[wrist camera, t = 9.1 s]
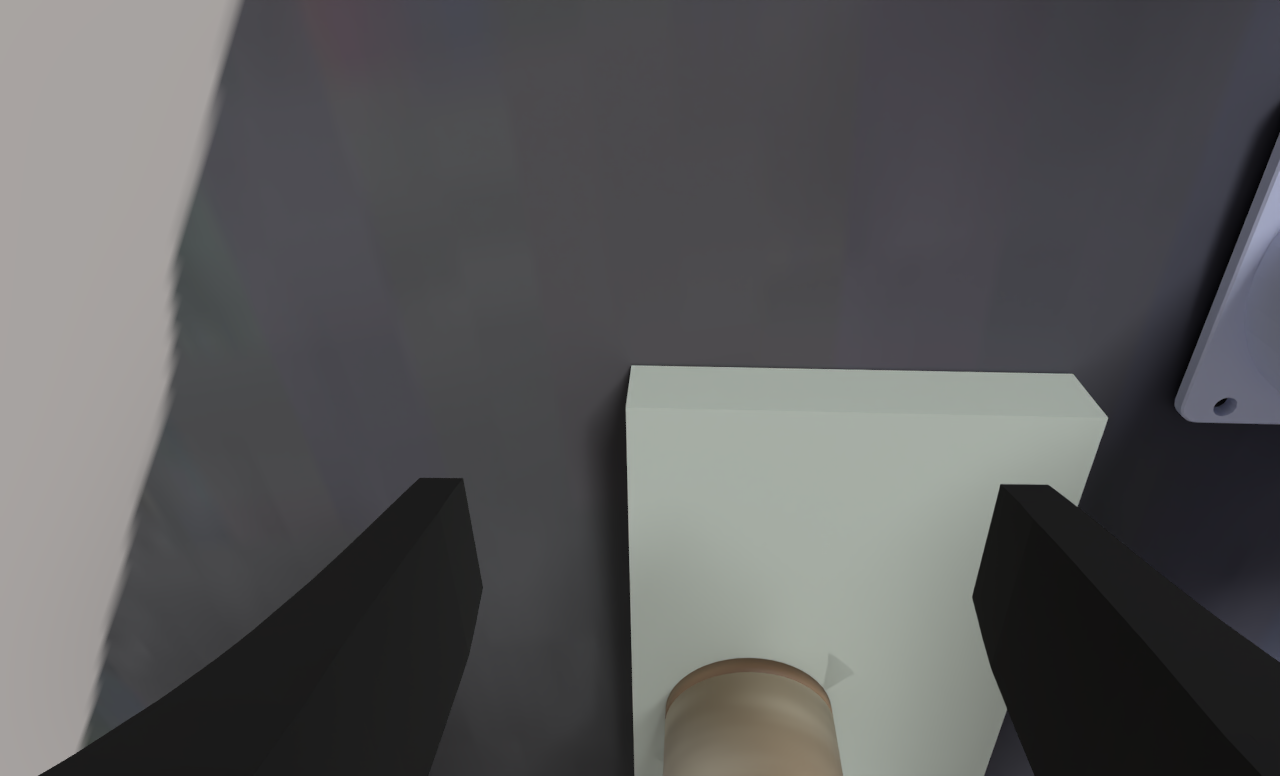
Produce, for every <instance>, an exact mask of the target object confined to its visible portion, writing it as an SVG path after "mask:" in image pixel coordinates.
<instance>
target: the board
mask: <svg viewBox="0 0 1280 776" xmlns="http://www.w3.org/2000/svg"><path fill="white" fill-rule="evenodd" d="M1107 420H1108V417H1107V416H1106V414H1105V413H1104V412H1103V411H1102V410H1101V408H1100V407H1099V406H1098V405H1097V403H1096V402H1095V401H1094V400H1093V398H1092V397H1091V396H1090V395H1089V393H1088V392H1087V391H1086V390H1085V388H1084V387H1083V386H1082V385H1081V383H1080V382H1079V381H1078V380H1077V379H1076V377H1075V376H1074V375H1073V374H1050V373H998V372H946V371H894V370H842V369H790V368H738V367H685V366H633V365H631V372H630V380H629V387H628V394H627V402H626V440H627V482H628V524H629V566H630V608H631V650H632V692H633V734H634V776H663V765H664V738H665V710H666V703H667V699H668V697H669V695H670V692H671V691H672V690H673V688H674V687H675V685H676V684H677V683H678V682H679V681H680V680H681V679H683V678H684V677H685V676H686V675H688V674H689V673H691V672H693V671H694V670H696V669H698V668H701V667H703V666H705V665H708V664H711V663H714V662H718V661H723V660H728V659H735V658H761V659H768V660H774V661H778V662H782V663H785V664H788V665H791V666H793V667H795V668H798V669H800V670H802V671H803V672H805V673H807V674H808V675H810V676H811V677H812V678H814V679H815V680H816V681H817V682H818V683H819V684H820V685H821V686H822V687H823V689H824V690H825V692H826V693H827V695H828V697H829V700H830V703H831V707H832V713H833V719H834V725H835V731H836V736H837V742H838V748H839V754H840V760H841V766H842V772H843V776H984V774H985V772H986V769H987V766H988V763H989V760H990V757H991V754H992V751H993V749H994V746H995V743H996V740H997V737H998V734H999V731H1000V728H1001V725H1002V723H1003V720H1004V717H1005V714H1006V711H1007V707H1006V705H1005V702H1004V700H1003V697H1002V695H1001V693H1000V690H999V688H998V685H997V683H996V680H995V677H994V675H993V672H992V670H991V667H990V663H989V660H988V656H987V653H986V649H985V646H984V642H983V639H982V635H981V631H980V627H979V623H978V619H977V615H976V611H975V607H974V603H973V599H972V595H973V591H974V587H975V583H976V579H977V575H978V571H979V567H980V563H981V559H982V555H983V551H984V547H985V543H986V539H987V535H988V531H989V527H990V523H991V519H992V516H993V512H994V508H995V504H996V500H997V496H998V492H999V488H1000V484H1035V485H1049V486H1051V487H1052V488H1054V489H1055V490H1056V491H1058V492H1059V493H1060V494H1062V495H1063V496H1064V497H1065V498H1067V499H1068V500H1069V501H1071V502H1072V503H1073V504H1074V505H1076V506H1077V507H1078V504H1079V501H1080V498H1081V495H1082V492H1083V489H1084V487H1085V484H1086V481H1087V478H1088V475H1089V472H1090V469H1091V466H1092V464H1093V461H1094V458H1095V455H1096V452H1097V449H1098V446H1099V443H1100V440H1101V438H1102V435H1103V432H1104V429H1105V426H1106V423H1107Z"/></svg>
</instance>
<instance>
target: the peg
mask: <svg viewBox="0 0 1280 776" xmlns="http://www.w3.org/2000/svg"><path fill="white" fill-rule="evenodd" d="M663 776H843V772H842V766H841V760H840V754H839V748H838V742H837V736H836V731H835V725H834V719H833V713H832V707H831V703H830V700H829V697H828V695H827V693H826V692H825V690H824V689H823V687H822V686H821V685H820V684H819V683H818V682H817V681H816V680H815V679H814V678H812V677H811V676H810V675H808V674H807V673H805V672H803V671H802V670H800V669H798V668H795V667H793V666H791V665H788V664H785V663H782V662H778V661H774V660H768V659H761V658H735V659H728V660H723V661H718V662H714V663H711V664H708V665H705V666H703V667H701V668H698V669H696V670H694V671H693V672H691V673H689V674H688V675H686V676H685V677H684V678H683V679H681V680H680V681H679V682H678V683H677V684H676V685H675V687H674V688H673V690H672V691H671V692H670V695H669V697H668V699H667V703H666V710H665V738H664V765H663Z"/></svg>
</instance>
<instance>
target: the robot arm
mask: <svg viewBox="0 0 1280 776" xmlns="http://www.w3.org/2000/svg"><path fill="white" fill-rule="evenodd" d="M1224 398H1227V400H1226V401H1225V402H1224V403H1223V404H1222V405H1220V406H1218V407H1214V406H1215V404H1216V403H1217V402H1218V401H1220V400H1222V399H1224ZM1174 405H1175V408H1176V410H1177V412H1178V413H1179V414H1180V415H1181V416H1182V417H1183V418H1185V419H1186V420H1188V421H1191V422H1196V423H1241V424H1280V133H1279V136H1278V139H1277V141H1276V144H1275V146H1274V149H1273V151H1272V154H1271V156H1270V159H1269V161H1268V164H1267V167H1266V169H1265V172H1264V174H1263V177H1262V179H1261V182H1260V184H1259V187H1258V189H1257V192H1256V195H1255V197H1254V200H1253V202H1252V205H1251V207H1250V210H1249V212H1248V215H1247V217H1246V220H1245V222H1244V225H1243V228H1242V230H1241V233H1240V235H1239V238H1238V240H1237V243H1236V245H1235V248H1234V250H1233V253H1232V256H1231V258H1230V261H1229V263H1228V266H1227V268H1226V271H1225V273H1224V276H1223V278H1222V281H1221V284H1220V286H1219V289H1218V291H1217V294H1216V296H1215V299H1214V301H1213V304H1212V306H1211V309H1210V312H1209V314H1208V317H1207V319H1206V322H1205V324H1204V327H1203V329H1202V332H1201V334H1200V337H1199V340H1198V342H1197V345H1196V347H1195V350H1194V352H1193V355H1192V357H1191V360H1190V362H1189V365H1188V368H1187V370H1186V373H1185V375H1184V378H1183V380H1182V383H1181V385H1180V388H1179V390H1178V393H1177V395H1176V398H1175V404H1174ZM482 589H483V586H482V580H481V575H480V569H479V564H478V558H477V553H476V547H475V542H474V536H473V531H472V525H471V520H470V514H469V509H468V503H467V498H466V492H465V487H464V481H463V478H419V479H418V480H417V481H416V482H415V483H414V484H413V485H412V486H411V487H410V488H409V489H408V490H406V491H405V492H404V493H403V494H402V495H401V496H400V497H399V498H398V499H397V500H396V501H395V502H394V503H393V504H392V505H391V506H390V507H389V508H388V509H387V510H386V511H385V512H383V513H382V514H381V515H380V516H379V517H378V518H377V519H376V520H375V521H374V522H373V523H372V524H371V525H370V526H369V527H368V528H367V529H366V530H365V531H364V532H363V533H362V534H361V535H360V536H359V537H358V538H357V539H355V540H354V541H353V542H352V543H351V544H350V545H349V546H348V547H347V548H346V549H345V550H344V551H343V552H342V553H341V554H340V555H338V556H337V557H336V558H335V559H334V560H333V561H332V562H331V563H330V564H329V565H328V566H327V567H325V568H324V569H323V570H322V571H321V572H320V573H319V574H318V575H317V576H316V577H315V578H314V579H313V580H311V581H310V582H309V583H308V584H307V585H306V586H304V587H303V588H302V589H301V590H300V591H299V592H297V593H296V594H295V595H294V596H293V597H292V598H290V599H289V600H288V601H287V602H286V603H284V604H283V605H282V606H281V607H280V608H279V609H277V610H276V611H275V612H274V613H273V614H272V615H270V616H269V617H268V618H267V619H266V620H265V621H263V622H262V623H261V624H260V625H259V626H257V627H256V628H255V629H254V630H253V631H251V632H250V633H249V634H248V635H246V636H245V637H244V638H243V639H241V640H240V641H239V642H238V643H236V644H235V645H234V646H232V647H231V648H230V649H228V650H227V651H226V652H225V653H223V654H222V655H221V656H219V657H218V658H217V659H215V660H214V661H213V662H211V663H210V664H209V665H207V666H206V667H204V668H203V669H202V670H200V671H199V672H198V673H196V674H195V675H193V676H192V677H191V678H189V679H188V680H186V681H185V682H184V683H182V684H181V685H180V686H178V687H177V688H175V689H174V690H173V691H171V692H170V693H168V694H167V695H165V696H164V697H162V698H161V699H160V700H158V701H157V702H155V703H153V704H152V705H150V706H149V707H147V708H146V709H144V710H143V711H141V712H139V713H138V714H136V715H135V716H133V717H132V718H130V719H129V720H127V721H125V722H124V723H122V724H121V725H119V726H118V727H116V728H115V729H113V730H112V731H110V732H108V733H107V734H105V735H104V736H102V737H101V738H99V739H98V740H96V741H94V742H93V743H91V744H90V745H88V746H87V747H85V748H84V749H82V750H80V751H79V752H77V753H76V754H74V755H72V756H71V757H69V758H67V759H66V760H65V761H63V762H61V763H59V764H57V765H56V766H54V767H52V768H51V769H49V770H47V771H46V772H44V773H42V774H40V775H39V776H428V775H429V772H430V769H431V766H432V763H433V760H434V757H435V754H436V751H437V748H438V745H439V742H440V740H441V737H442V734H443V731H444V728H445V725H446V722H447V719H448V716H449V713H450V710H451V707H452V704H453V701H454V698H455V695H456V692H457V690H458V687H459V684H460V681H461V678H462V675H463V672H464V668H465V665H466V662H467V659H468V656H469V652H470V648H471V643H472V638H473V634H474V629H475V625H476V620H477V614H478V609H479V604H480V599H481V594H482ZM972 599H973V603H974V607H975V611H976V615H977V619H978V623H979V627H980V631H981V635H982V639H983V642H984V646H985V649H986V653H987V656H988V660H989V663H990V667H991V670H992V672H993V675H994V677H995V680H996V683H997V685H998V688H999V690H1000V693H1001V695H1002V697H1003V700H1004V702H1005V705H1006V707H1007V710H1008V712H1009V715H1010V717H1011V720H1012V722H1013V724H1014V727H1015V729H1016V732H1017V734H1018V737H1019V739H1020V741H1021V744H1022V746H1023V749H1024V751H1025V753H1026V756H1027V758H1028V761H1029V763H1030V765H1031V768H1032V770H1033V773H1034V775H1035V776H1280V662H1278V661H1277V660H1276V659H1274V658H1273V657H1271V656H1270V655H1269V654H1267V653H1266V652H1264V651H1263V650H1261V649H1260V648H1259V647H1257V646H1256V645H1254V644H1253V643H1252V642H1250V641H1249V640H1247V639H1246V638H1245V637H1243V636H1242V635H1240V634H1239V633H1238V632H1236V631H1235V630H1233V629H1232V628H1231V627H1229V626H1228V625H1226V624H1225V623H1224V622H1222V621H1221V620H1220V619H1218V618H1217V617H1216V616H1214V615H1213V614H1212V613H1210V612H1209V611H1208V610H1206V609H1205V608H1204V607H1202V606H1201V605H1200V604H1198V603H1197V602H1196V601H1195V600H1193V599H1192V598H1191V597H1189V596H1188V595H1187V594H1185V593H1184V592H1183V591H1182V590H1180V589H1179V588H1178V587H1176V586H1175V585H1174V584H1173V583H1171V582H1170V581H1169V580H1167V579H1166V578H1165V577H1164V576H1162V575H1161V574H1160V573H1159V572H1157V571H1156V570H1155V569H1154V568H1152V567H1151V566H1150V565H1149V564H1147V563H1146V562H1145V561H1144V560H1142V559H1141V558H1140V557H1139V556H1137V555H1136V554H1135V553H1134V552H1132V551H1131V550H1130V549H1129V548H1127V547H1126V546H1125V545H1124V544H1122V543H1121V542H1120V541H1119V540H1118V539H1116V538H1115V537H1114V536H1113V535H1111V534H1110V533H1109V532H1108V531H1106V530H1105V529H1104V528H1103V527H1102V526H1100V525H1099V524H1098V523H1097V522H1095V521H1094V520H1093V519H1092V518H1090V517H1089V516H1088V515H1087V514H1086V513H1084V512H1083V511H1082V510H1081V509H1079V508H1078V507H1077V506H1076V505H1074V504H1073V503H1072V502H1071V501H1069V500H1068V499H1067V498H1065V497H1064V496H1063V495H1062V494H1060V493H1059V492H1058V491H1056V490H1055V489H1054V488H1052V487H1051V486H1049V485H1035V484H1000V488H999V492H998V496H997V500H996V504H995V508H994V512H993V516H992V519H991V523H990V527H989V531H988V535H987V539H986V543H985V547H984V551H983V555H982V559H981V563H980V567H979V571H978V575H977V579H976V583H975V587H974V591H973V595H972Z"/></svg>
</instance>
